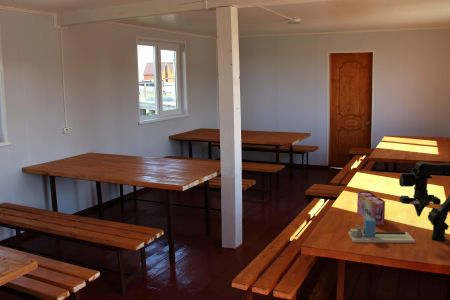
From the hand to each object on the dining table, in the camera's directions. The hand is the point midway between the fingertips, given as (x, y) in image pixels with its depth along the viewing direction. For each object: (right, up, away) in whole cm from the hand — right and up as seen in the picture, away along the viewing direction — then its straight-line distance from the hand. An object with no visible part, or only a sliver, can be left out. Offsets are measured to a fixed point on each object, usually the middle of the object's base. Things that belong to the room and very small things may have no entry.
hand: (418, 216), depth 237 cm
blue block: (-24, -10, +4) cm, 27 cm away
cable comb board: (-18, -12, +4) cm, 22 cm away
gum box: (-14, -7, +35) cm, 38 cm away
